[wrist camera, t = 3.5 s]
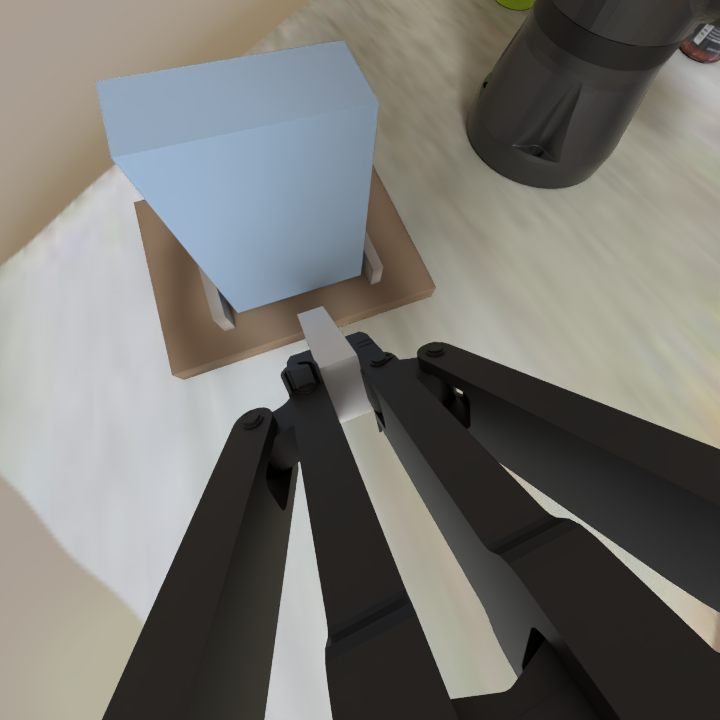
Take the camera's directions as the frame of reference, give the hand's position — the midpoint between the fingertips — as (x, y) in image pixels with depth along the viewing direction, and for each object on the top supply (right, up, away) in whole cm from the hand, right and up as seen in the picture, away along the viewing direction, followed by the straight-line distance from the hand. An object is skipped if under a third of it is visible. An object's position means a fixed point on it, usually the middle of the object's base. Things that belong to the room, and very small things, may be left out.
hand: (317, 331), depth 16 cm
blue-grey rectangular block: (-3, +5, +6) cm, 9 cm away
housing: (-4, +8, +9) cm, 12 cm away
